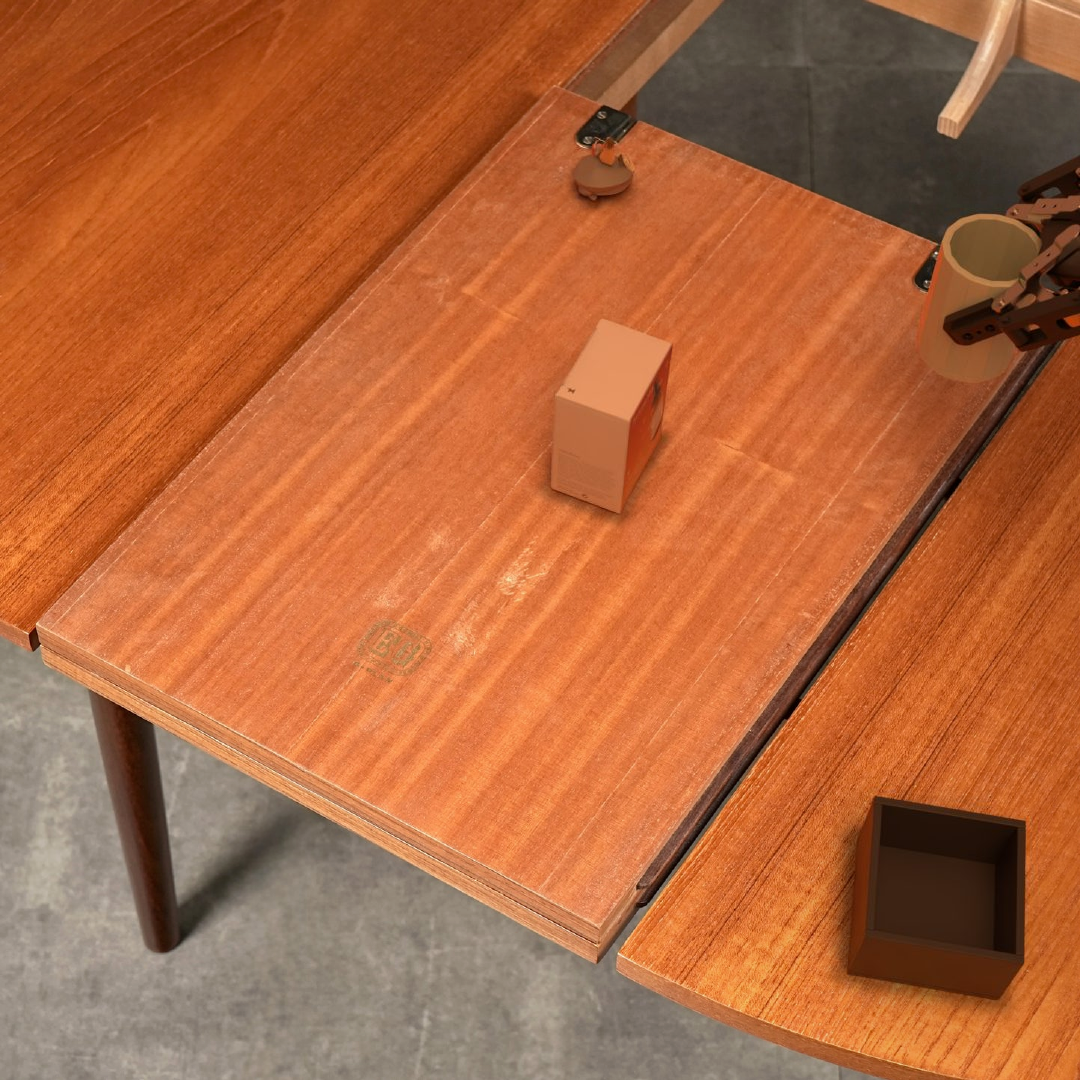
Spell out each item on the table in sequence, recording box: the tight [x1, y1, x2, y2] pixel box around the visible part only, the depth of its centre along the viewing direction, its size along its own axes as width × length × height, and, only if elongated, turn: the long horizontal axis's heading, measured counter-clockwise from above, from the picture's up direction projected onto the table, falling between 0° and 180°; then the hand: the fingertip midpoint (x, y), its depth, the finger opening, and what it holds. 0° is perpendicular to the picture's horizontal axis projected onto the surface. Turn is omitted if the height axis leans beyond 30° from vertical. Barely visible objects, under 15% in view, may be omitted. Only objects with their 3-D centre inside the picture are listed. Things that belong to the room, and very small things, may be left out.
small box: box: [550, 317, 674, 515], centre depth 119 cm, size 8×6×10 cm
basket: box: [846, 795, 1027, 1001], centre depth 101 cm, size 9×9×6 cm
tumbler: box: [915, 213, 1042, 384], centre depth 110 cm, size 6×6×9 cm
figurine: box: [572, 136, 637, 202], centre depth 137 cm, size 5×4×6 cm
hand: (957, 292), depth 109 cm, fingers closed on tumbler, 6 cm apart
